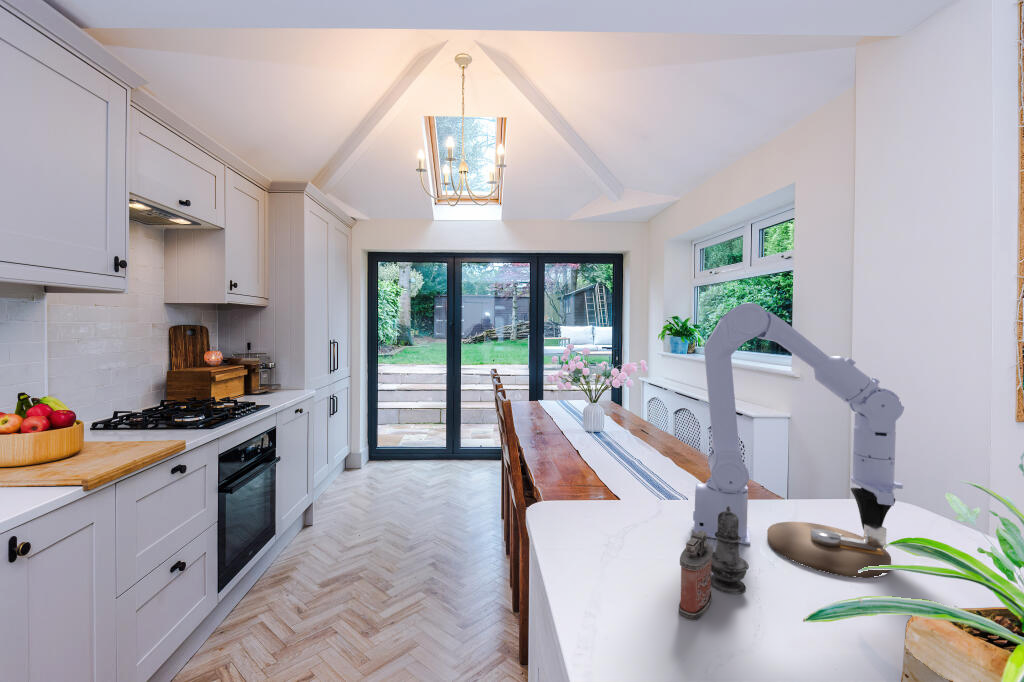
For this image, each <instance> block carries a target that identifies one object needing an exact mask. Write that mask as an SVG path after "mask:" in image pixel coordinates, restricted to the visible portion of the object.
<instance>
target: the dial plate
mask: <svg viewBox="0 0 1024 682" xmlns="http://www.w3.org/2000/svg"><path fill="white" fill-rule="evenodd" d="M812 529H823V530H828V531H831V532H834V533H836V534H838V535H839V536H842V537H847V538H853V539H859V540H864V536H861V535H859V534H856V533H854V532H851V531H848V530H846V529H845V530H844V529H841V528H838V527H835V526H829V525H825V524H821V523H812V522H805V521H782V522H777V523H773V524H771V525H770V526H769V527H768V529H767V530H766V531H767V534H766V536H767V537H766V540H767V541H766V542H767V543H768V545H769V546H770V547H771V549H772V550H774V551H775V552H776V551H777V552H776V553H778V554H779V553H780V554H779V555H781V556H782V555H783V556H782V557H784V556H786V557H787V558H786V557H785V558H786V559H788V558H789V559H788V560H790V559H791V560H790V561H792V560H794V561H796V562H798V563H797V564H799V563H800V564H799V565H801V564H803V565H802V566H804V565H805V566H804V567H806V566H808V567H807V568H809V567H811V568H810V569H812V568H813V570H815V569H816V571H819V570H821V571H820V572H822V571H825V572H824V573H826V572H829V573H828V574H830V573H832V574H831V575H835V574H837V575H836V576H840V575H842V576H841V577H846V576H848V578H854V577H853V576H856V577H862V578H861V579H870V578H869V577H874V576H879V575H881V574H882V573H888V574H889V573H890V572H891V570H868V571H863V572H861V573H858V570H860V569H862V568H864V567H868V566H879V565H891V566H892V556H891V555H890V553H889V552H888V551H887V550H886V548H884V549H880V548H877V551H876V550H870V549H865V548H859V547H854V546H848V545H843V544H841V545H840V546H837V547H831V546H825V545H822V544H819V543H816V542H814V541H813V540H812V539H811V530H812ZM794 561H793V562H794ZM796 562H795V563H796Z"/></svg>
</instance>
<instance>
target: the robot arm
mask: <svg viewBox="0 0 1024 682" xmlns="http://www.w3.org/2000/svg"><path fill="white" fill-rule="evenodd" d="M755 337H756V338H757V339H761V340H766V341H773V342H775V343H777V344H778V345H780V346H781V347H783V348H784V349H785V350H787V351H788V352H789V353H791V354H792V355H794V356H795V357H797V358H798V359H800V360H801V361H802V362H804V363H805V364H806V365H808V366H810V367H811V368H812V369H813V372H814V379H815V381H817V382H818V383H819V384H820V385H822V386H823V387H825V388H826V389H827V390H829V391H830V392H831V393H833V394H834V395H835V396H837V397H838V398H839V399H840V400H842V401H843V402H845V403H846V404H848V405H849V408H850V410H851V411H852V412H855V413H854V426H853V444H852V445H853V449H852V450H853V452H852V475H851V476H850V482H851V483H852V484H854V485H856V486H858V487H851V488H850V491H851V493H852V495H853V497H854V499H855V502H856V504H857V509H858V512H859V517H860V521H861V523H860V524H861V526H862V529H863V531H864V524H866V523H870V524H876V525H880V526H883V524H884V521H885V518H886V515H887V514H888V512H889V510H890V509H891V508H892V507H893V506H895V503H896V498H895V493H894V492H895V490H896V489H899V490H902V489H904V486H903V483H901V482H899V481H896V480H895V469H896V467H895V465H896V464H895V463H896V439H897V438H896V435H897V434H896V433H897V432H896V429H897V428H896V427H897V426H896V424H897V423H896V422H897V420H898V419H899V418H900V417H901V416H902V415H903V414H904V410H905V406H904V405H902V402H901V401H900V397H899V396H898V395H897V394H896V393H895V392H893V391H892V390H889V389H887V388H882V387H880V386H879V384H880V380H878V379H877V378H876V377H870V376H868V375H867V374H866V373H864V372H863V371H862V370H860V369H859V368H857V366H855V364H856V361H854V359H852V358H849V357H846V358H844V357H843V356H841V355H833V356H828V355H827V354H826V353H825V352H824V351H822V350H821V349H820V348H818V346H816V345H814V344H813V343H812V342H811V341H810V340H809V339H807V338H806V337H805V336H803V334H801V333H800V332H799V331H797V330H796V329H795V328H793V326H791V325H790V324H788V322H786V321H785V320H784V319H782V318H780V317H779V316H777V315H776V314H774V313H772V312H770V311H767V310H766V309H765V308H764V307H763V306H761V305H759V304H757V303H754V302H743V303H740V304H739V305H737V306H735V307H733V308H731V309H730V310H729V311H727V312H726V313H725V314H724V315H722V316H721V317H720V319H719V321H718V322H717V323H716V326H715V327H714V329H713V330H712V332H711V333H710V334H709V337H708V338H707V340H706V342H705V344H704V347H703V348H704V349H703V351H704V352H703V353H704V362H705V364H704V365H705V375H706V386H707V387H706V388H707V396H708V408H709V419H710V421H709V422H710V431H711V451H710V454H709V455H708V459H707V463H708V467H709V470H710V472H711V473H710V474H711V475H710V476H709V477H708V479H706V483H705V482H704V483H701V482H696V484H695V490H694V491H695V493H694V511H693V512H692V513H693V514H692V515H693V516H692V520H693V521H694V524H693V525H694V527H693V528H694V529H693V532H695V533H697V532H698V531H705V532H707V538H711V539H716V540H717V537H716V536H715V533H716V532H718V515H719V513H721V512H724V511H727V509H726V508H727V507H728V506H729V507H730V509H731V510H730V512H732V513H734V514H735V515H736V516H737V517H738V520H739V526H738V536H740V538H741V541H739V544H743V545H751V537H750V530H749V526H748V507H749V502H748V501H749V500H748V499H749V498H748V497H749V496H748V495H749V487H748V486H747V485H748V484H749V483H748V482H749V480H750V472H749V470H748V468H747V466H746V464H745V463H744V461H743V459H742V451H741V450H742V449H741V445H740V441H739V429H738V421H737V409H736V397H735V386H734V375H733V364H732V363H733V362H732V355H733V354H734V353H735V352H736V351H737V350H738V349H739V348H741V346H743V344H744V343H746V342H747V341H750V340H752V339H754V338H755ZM859 487H860V488H859Z"/></svg>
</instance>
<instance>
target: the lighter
mask: <svg viewBox="0 0 1024 682" xmlns="http://www.w3.org/2000/svg"><path fill="white" fill-rule="evenodd" d="M707 540H708V537H707V532H705V531H698V532H697V533H695V532H694V531H692V532H691V536H690V538H689V540H688V541H687V542H685V548H684V549H683V551H682V552H680V553H681V554H680V556H679V565H680V568H681V569H680V600H679V605H678V615H679V616H680V617H682V618H683V619H685V620H687V621H699V620H700V619H701V618H702V617H704V615H706V613H708V612H709V610H710V608H711V606H712V605H711V604H712V600H713V592H712V590H711V587H712V586H711V575H712V572H711V558H712V555H713V552H714V546H713V545H711V544H709V543H708V542H707Z"/></svg>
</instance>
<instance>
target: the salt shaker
mask: <svg viewBox="0 0 1024 682" xmlns="http://www.w3.org/2000/svg"><path fill="white" fill-rule="evenodd" d="M726 509H727V511H724V512H721V513H719V515H718V532H716V533H715V536H716V537H717V539H716V549H715V551H713V555H712V558H711V587H712V588H714V589H715V590H717V591H719V592H720V593H721V592H722V593H724V594H728V595H741V594H743V593H746V591H747V587H746V584H745V583H744V582H743V581H742V580H743V579H744V578H745V576H746V574H747V570H749V567H750V566H749V563H748V562H747V560H745V559H743V557H740V552H739V551H740V550H739V549H740V548H739V546H740V545H739V544H740V543H739V541H741V538H740V536H738V526H739V520H738V517H737V516H736V515H735V514H734V513H732V512H730V510H731V509H730V507H729V506H728V507H727V508H726Z"/></svg>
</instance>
